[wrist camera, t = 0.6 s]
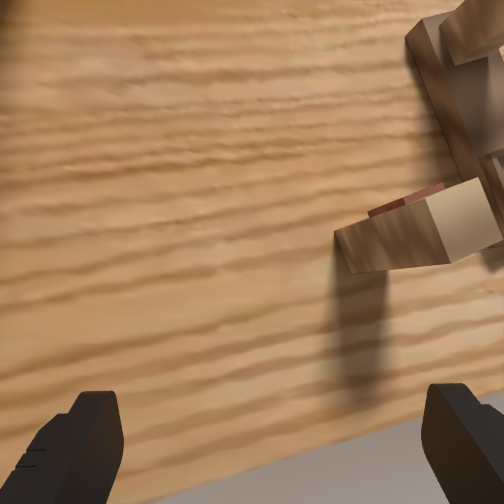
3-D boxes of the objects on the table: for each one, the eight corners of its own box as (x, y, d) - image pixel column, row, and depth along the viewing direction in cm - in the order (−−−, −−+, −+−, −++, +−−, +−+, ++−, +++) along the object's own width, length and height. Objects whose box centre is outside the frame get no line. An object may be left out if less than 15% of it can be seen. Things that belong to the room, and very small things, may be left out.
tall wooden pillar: (332, 225, 34) (421, 189, 22) (370, 210, 35) (475, 169, 23) (351, 273, 34) (451, 263, 22) (388, 257, 35) (503, 239, 23)
